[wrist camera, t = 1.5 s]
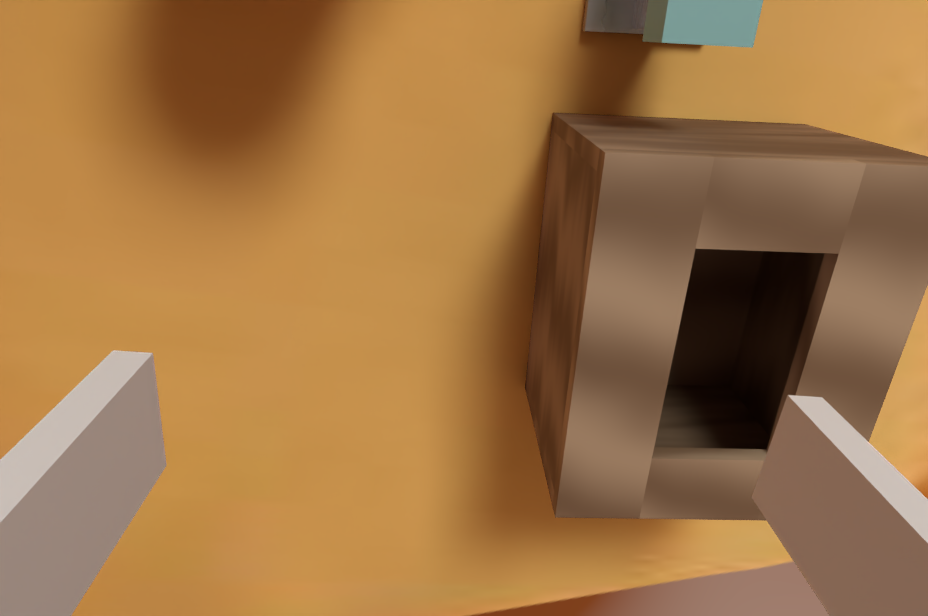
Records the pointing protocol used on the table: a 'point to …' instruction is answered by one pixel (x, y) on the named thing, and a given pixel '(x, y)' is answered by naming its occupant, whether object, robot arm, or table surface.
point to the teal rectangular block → (702, 22)
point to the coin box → (711, 302)
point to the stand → (615, 16)
